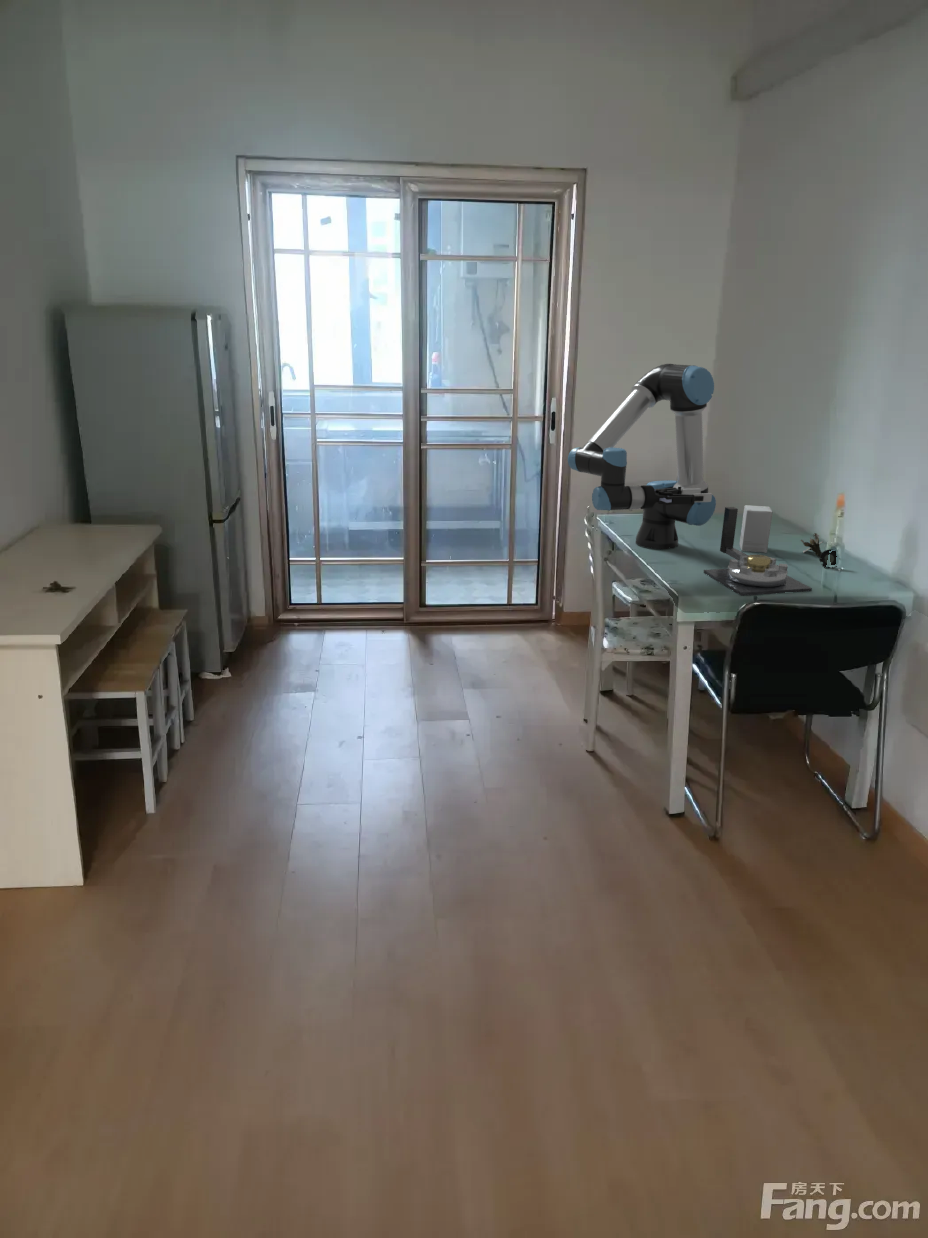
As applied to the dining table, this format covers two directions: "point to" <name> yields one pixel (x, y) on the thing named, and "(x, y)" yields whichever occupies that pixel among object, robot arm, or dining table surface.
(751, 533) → the supplement box
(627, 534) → the dining table surface
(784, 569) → the round grey fixture
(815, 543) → the artificial flower
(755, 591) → the flange plate
